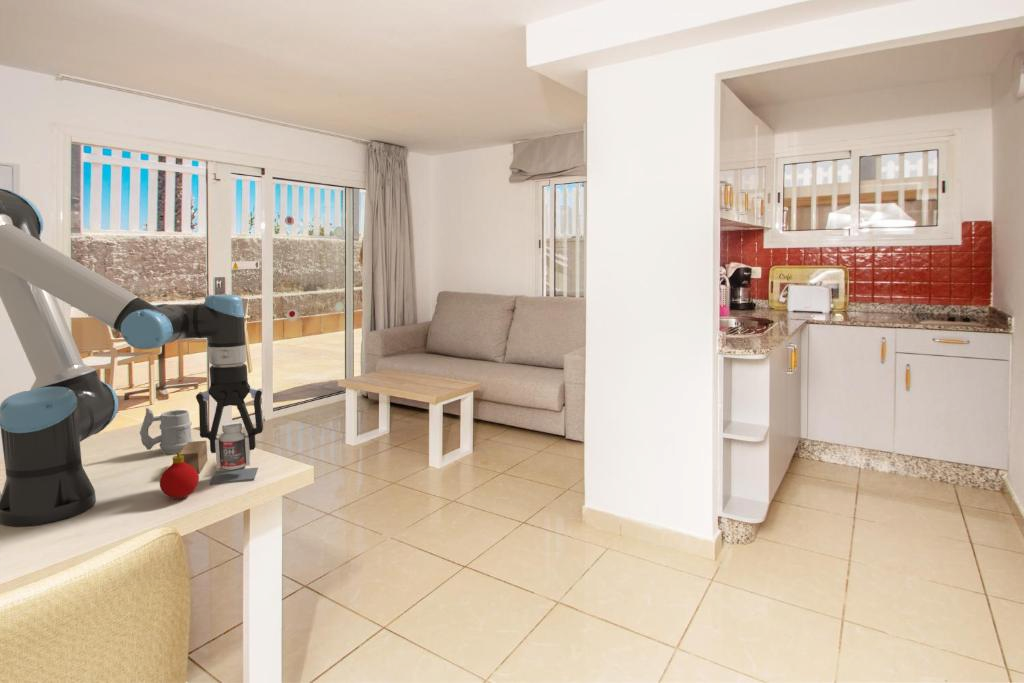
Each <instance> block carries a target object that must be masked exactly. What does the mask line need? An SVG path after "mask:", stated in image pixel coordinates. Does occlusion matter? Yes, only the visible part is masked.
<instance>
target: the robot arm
mask: <svg viewBox="0 0 1024 683" xmlns="http://www.w3.org/2000/svg"><path fill="white" fill-rule="evenodd" d="M43 220H44V219H43V216H42V214H41V211H40V210H39V209H38V208H37V206H36V205H35V203H33V202H32V201H31V200H29V199H28V198H26V197H25V196H24V195H21V194H19V193H15V192H13V191H11V190H8V189H5V188H0V299H1V302H2V304H3V306H4V309H5V311H6V313H7V316H8V317H9V318H8V319H10V322H11V324H12V326H13V329H14V331H15V333H16V336H17V338H18V340H19V342H20V344H21V347H22V349H23V351H24V353H25V357H26V359H27V361H28V363H29V364H30V367H31V369H32V372H33V374H34V376H35V380H34V382H33V384H32V385H31V387H30V389H29V390H22V391H19V392H17V393H13V394H11V395H8V397H6V398H5V399H4V400H3V401H2V402H1V403H0V436H1V443H2V450H3V451H2V452H3V453H2V454H3V460H4V468H5V482H4V486H3V489H2V493H1V495H0V524H2V525H4V526H9V527H10V526H11V527H12V526H13V527H25V526H26V527H28V526H35V525H42V524H43V525H44V524H47V523H48V524H49V523H52V522H57V521H60V520H64V519H65V520H66V519H68V518H71V517H74V516H76V515H79V514H81V513H83V512H86V511H88V510H89V509H90V508H92V507H93V506H94V505H95V504H96V501H97V498H96V496H97V495H96V490H95V488H94V485H93V484H92V482H91V480H90V478H89V476H88V474H87V473H86V471H85V469H84V467H83V463H82V451H81V442H82V441H84V440H86V439H89V438H90V437H92V436H94V435H96V434H99V433H100V432H102V431H103V430H104V429H105V428H107V427H108V426H109V425H110V424H111V423H112V422H113V420H114V419H115V418H116V416H117V413H118V411H119V398H118V395H117V392H116V391H115V390H114V389H113V387H112V386H111V385H110V384H108V383H107V382H104V381H103V380H101V379H100V377H99V374H98V372H97V370H96V368H95V367H92V366H90V365H87V364H85V362H84V360H83V358H82V356H81V353H80V351H79V349H78V346H77V344H76V343H75V342H76V341H75V340H74V337H73V334H72V333H71V330H70V328H69V326H68V323H67V321H66V318H65V316H64V313H63V312H62V309H61V307H60V304H59V302H58V300H57V299H59V300H60V301H62V302H64V303H66V304H68V305H70V306H72V307H73V308H75V309H77V310H79V311H81V312H82V313H84V314H85V315H88V316H90V317H92V318H93V319H95V320H97V321H99V322H101V323H102V324H104V325H106V326H108V327H110V328H111V329H113V330H116V332H119V333H120V334H121V337H122V338H123V340H124V341H125V342H126V343H127V344H128V345H129V346H130V347H132V348H135V349H138V350H151V349H157V348H161V347H163V346H164V345H167V344H170V343H173V342H176V341H178V340H186V339H187V340H189V339H190V340H191V339H207V346H208V347H207V349H208V350H207V351H208V364H210V367H209V381H210V383H209V384H210V385H209V388H208V389H207V390H206V391H200V392H198V393H197V394H196V395H195V399H196V401H197V404H198V412H199V413H198V414H199V416H198V417H199V437H200V438H203V439H204V438H206V439H208V440H209V450H210V453H211V454H215V462H216V469H221V468H222V467H221V455H220V436H218V432H219V427H220V423H221V420H222V415H223V412H224V408H225V407H229V406H231V407H232V406H233V407H234V406H235V407H236V409H237V410H238V412H239V414H240V418H241V421H242V423H243V425H244V428H245V431H246V433H247V434H245V435H246V436H245V450H246V467H247V466H251V464H252V451H254V450H255V448H256V435H259V434H261V433H262V432H263V430H264V422H263V421H264V420H263V412H262V410H263V408H262V402H261V400H262V399H261V398H262V395H263V389H262V388H254V387H251V385H250V383H249V382H248V380H249V379H248V366H247V364H246V362H247V348H246V346H247V344H246V333H245V330H246V329H245V316H246V315H245V313H244V306H243V299H242V297H241V296H240V295H238V294H208V295H206V296H205V298H204V302H203V303H200V304H198V303H197V304H181V303H180V304H179V303H178V304H173V303H171V304H167V303H162V304H151V303H150V302H148V301H146V300H144V299H143V298H140V297H139V296H137V295H136V294H134V293H133V292H130V291H129V290H127V289H126V288H123V287H122V286H121V285H119V284H116V283H115V282H114V281H111V280H109V279H108V278H107V277H104V276H103V275H101V274H99V273H97V272H95V271H94V270H92V269H91V268H89V267H87V266H85V265H84V264H82V263H81V262H78V261H77V260H75V259H74V258H72V257H70V256H68V255H66V254H64V253H63V252H61V251H59V250H57V249H55V248H53V247H52V246H50V245H48V244H46V243H45V242H43V241H42V240H41V234H42V232H43V229H44V221H43ZM249 394H250V395H251V397H250V398H252V399H253V407H254V418H255V419H254V420H255V427H254V424H253V422H252V419H251V417H250V414H249V412H248V409H247V406H246V403H245V399H246V397H247V396H248V395H249ZM209 397H211V398H212V399H213V400H214V401H215V402H216V403H217V404H216V407H215V411H214V412H215V413H214V416H213V421H212V423H211V429H210V430H209V425H208V424H209V422H208V417H209V416H208V414H209V413H208V401H209V399H210V398H209Z"/></svg>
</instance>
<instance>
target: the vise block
mask: <svg viewBox="0 0 1024 683" xmlns="http://www.w3.org/2000/svg"><path fill="white" fill-rule="evenodd" d="M179 455H183V456H184V462H185V463H186V464H188V465H190V466H192V467H193V468H195V470H196V471H197V473H198V475H200V474H201V472H202V470H203V469H204V467H205V465H206V464H207V462H208V445H207V440H197V441H196V440H194V442H188V443H187V444H186V445H185V447H184V448H183V449H182V451H181V452H180V453H179ZM246 467H247V466H244V467H242V468H238V469H246ZM232 470H235V469H232Z"/></svg>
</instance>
